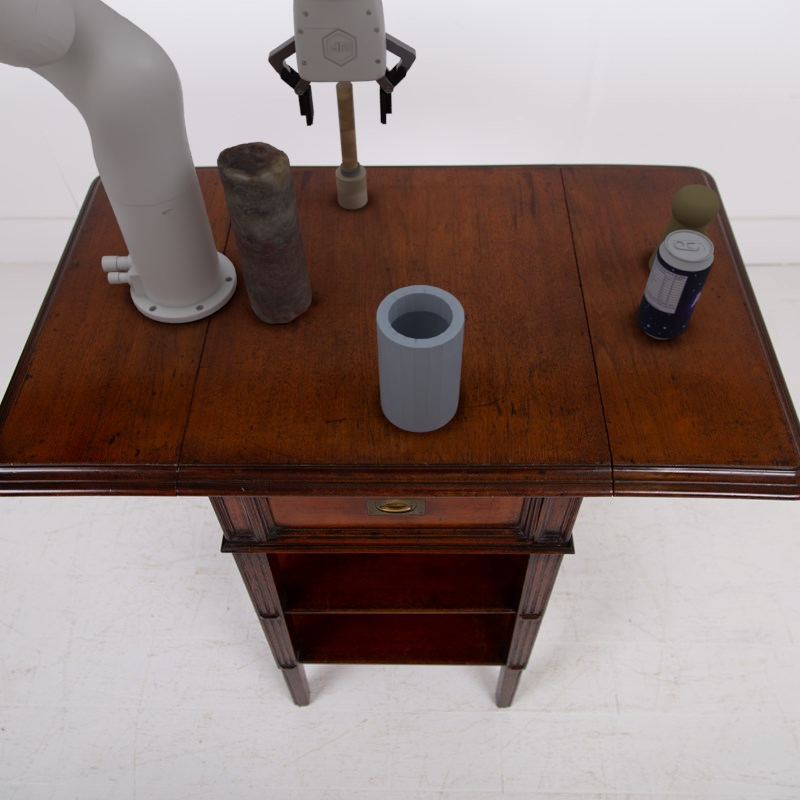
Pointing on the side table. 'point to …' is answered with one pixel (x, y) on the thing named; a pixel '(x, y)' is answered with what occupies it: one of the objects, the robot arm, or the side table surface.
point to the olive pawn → (691, 212)
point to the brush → (349, 153)
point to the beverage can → (675, 284)
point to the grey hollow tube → (420, 356)
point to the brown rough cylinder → (266, 229)
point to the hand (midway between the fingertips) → (347, 118)
